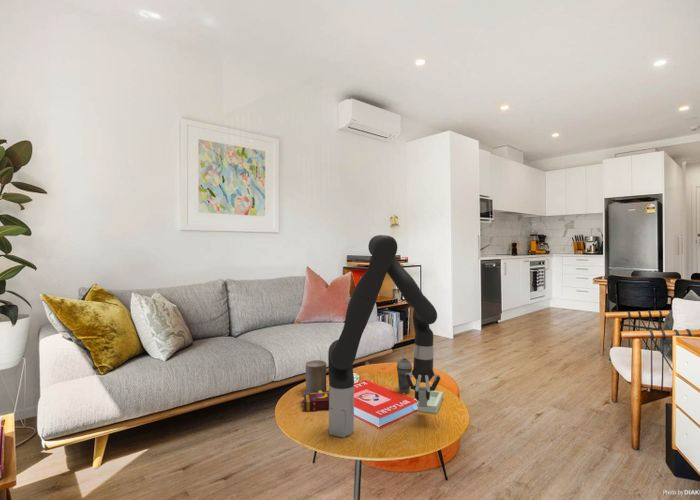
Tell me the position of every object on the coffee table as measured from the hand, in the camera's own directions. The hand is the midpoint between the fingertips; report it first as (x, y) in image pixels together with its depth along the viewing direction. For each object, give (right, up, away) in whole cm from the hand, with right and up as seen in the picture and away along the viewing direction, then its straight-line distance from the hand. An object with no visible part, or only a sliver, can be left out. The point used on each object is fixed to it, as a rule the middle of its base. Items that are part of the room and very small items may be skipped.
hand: (422, 400), depth 152 cm
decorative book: (-41, -9, +15) cm, 45 cm away
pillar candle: (-44, -8, +30) cm, 54 cm away
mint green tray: (+6, -8, +17) cm, 20 cm away
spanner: (0, 0, 0) cm, 0 cm away
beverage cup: (-3, -8, +30) cm, 32 cm away
